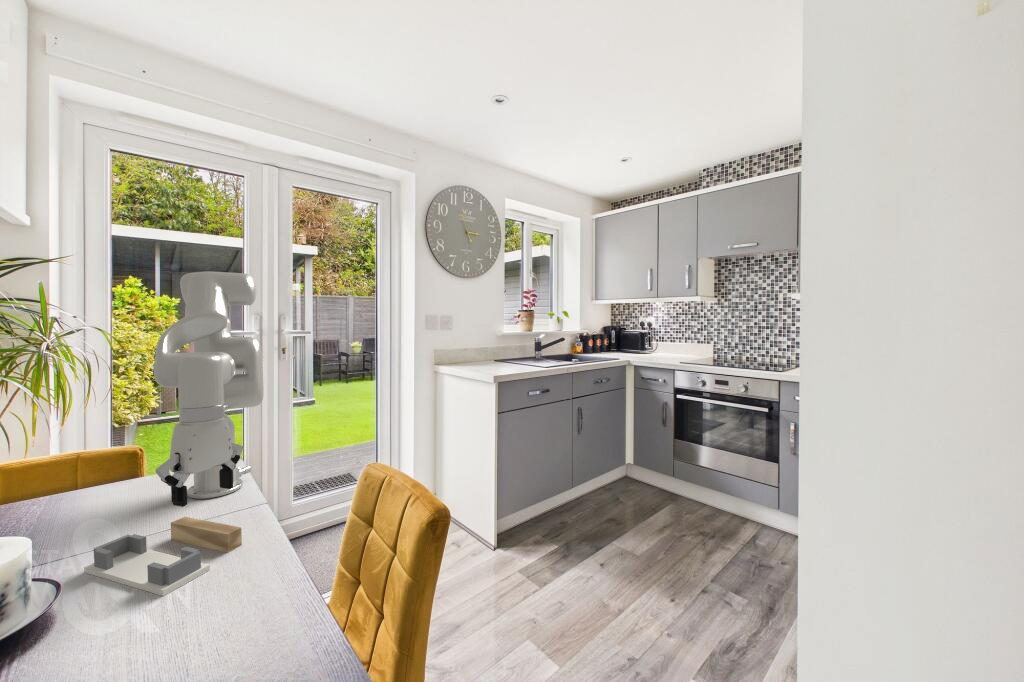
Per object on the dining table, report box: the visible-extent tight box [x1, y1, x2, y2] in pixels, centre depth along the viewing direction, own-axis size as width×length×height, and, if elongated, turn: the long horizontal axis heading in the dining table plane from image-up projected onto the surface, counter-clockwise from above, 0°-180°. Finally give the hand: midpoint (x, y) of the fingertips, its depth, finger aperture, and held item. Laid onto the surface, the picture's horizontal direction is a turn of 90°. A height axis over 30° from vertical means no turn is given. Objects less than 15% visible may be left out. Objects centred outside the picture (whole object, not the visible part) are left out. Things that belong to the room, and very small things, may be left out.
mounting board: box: [83, 533, 211, 597], centre depth 80 cm, size 8×21×4 cm, turn 72°
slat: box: [170, 516, 243, 553], centre depth 90 cm, size 3×16×4 cm, turn 73°
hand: (204, 496), depth 89 cm, fingers open, 9 cm apart
